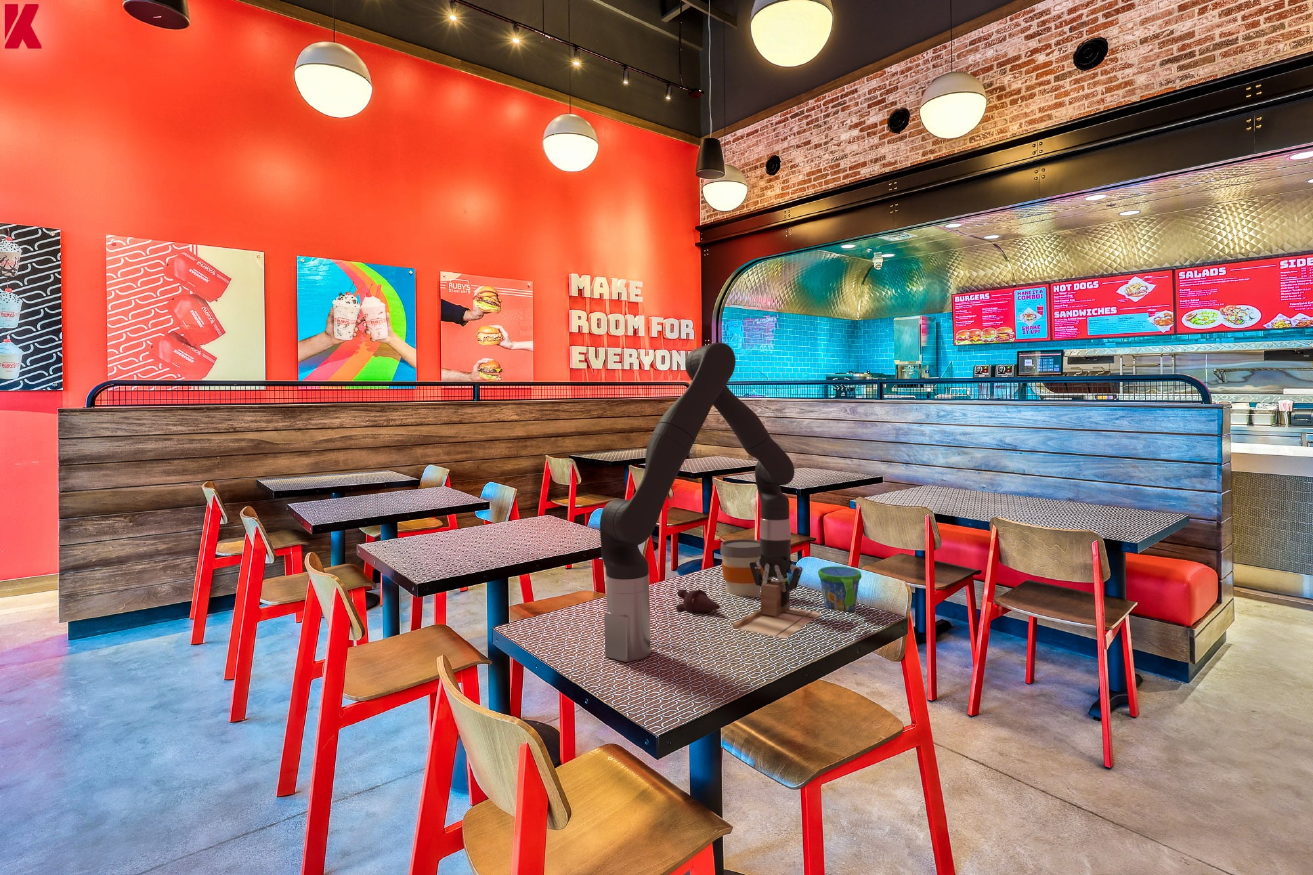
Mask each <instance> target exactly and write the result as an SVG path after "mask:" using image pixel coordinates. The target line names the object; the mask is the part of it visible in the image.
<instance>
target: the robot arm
mask: <svg viewBox="0 0 1313 875" xmlns="http://www.w3.org/2000/svg"><path fill="white" fill-rule="evenodd" d="M736 360H737V359H736V354H735V352H734V350H733V348H732V347H731V346H730V345H728V344H727V343H725V342H713V343H709V344H705V345H703V346H700V347H698V348H695V349H693V350H691V351H690V352H689V353H688V354H687V356H686V358H685V371H686V373H687V375H688V378H689V379H690V380H691V382H690V384H689V385H688V387H687V388H686V390H685V391H684V392H683V393H682V394H681V395H680V397H678V399H676V400H675V402H674V403H672V405H671V406H669V408H668V409H667V410H666V411H665V412H664V414H663V415H662V416H661V418H660V419H659V420H658V423H657V424H656V426H655V428H654V430H653V432H652V434H651V435H650V437H649V440H648V442H647V445H646V450H645V466H644V472H643V477H642V480H641V481H640V483H639V485H638V487H637V489H636V491H635V493H633V496H632V497H631V499H624V498H616V499H612V500H611V501H610V500H609V502H607V503H606V505H605V506H604V508H603V509H602V511H601V514H600V519H599V533H600V534H599V536H600V537H599V538H600V551H601V558H602V563H603V564H604V567H605V576H606V578H605V579H606V580H605V581H606V582H605V583H606V611H605V612H604V613H603V618H604V619H603V620H604V621H603V623H604V624H603V625H604V654H605V655H604V657H606V658H610V659H613V660H616V661H620V662H625V663H628V662H631V661H638V660H641V659H645V658H647V657H649V656H650V655H651V653H652V652H651V650H652V648H651V646H652V645H651V644H652V643H651V642H652V641H651V611H650V610H651V608H650V604H651V603H650V570H649V569H650V566H649V562H648V560H647V558H646V557H645V556H644V555H643V554H642V552H641V550H640V548H639V545H642V544H643V543H645V542H646V541H647V540H648V539H649V538H650V537H651V536H652V534H653V532H654V531H655V528H656V526H657V524H658V521H659V518H660V517H661V516H660V515H661V513H662V509H663V508H664V505H665V502H666V501H667V500H666V499H667V497H668V495H669V492H670V490H671V489H672V487H673V484H674V483H675V481H676V479H677V476H678V474H679V472H680V470H681V469H682V466H683V465H684V463H685V461H686V459H687V457H688V456H689V453H690V451H691V449H692V447H693V446H694V444H695V443H696V442H695V441H696V439H697V437H698V435H699V434H700V431H701V429H702V428H703V426H704V424H705V421H706V419H707V417H708V415H709V413H710V411H711V410H712V408H713V407H714V409H716V410H717V412H718V413H719V414H720V416H722V418H723V419H724V420H725V422H726V423H727V425H728V426H729V427H730V428H731V430H732V432H733V434H734V435H735V437H736V438H737V439H738V441H739V442H740V445H741V447H742V448H743V449H744V451H745V452H746V453H747V454H748V455H749V456H750V457H752V458H754V459H756V460H757V462H756V464H755V467H754V479H755V484H756V488H757V493H758V495H759V496H758V497H759V500H760V525H759V541H760V554H761V557H760V559H759V561H753V562H751V563H750V568H751V571H752V574H753V578H754V581H755V584H756V585H757V586H758V585H759V586H761V585H762V584H765V583H768V582H771V581H773V578H777V580H778V582H779V583H780V585H781V590H782V592H781V606H782V607H786V606H787V604H789V591H790V592H792V591H794V590H796V589H797V588H798V584H799V581H800V579H801V576H802V573H803V570H804V568H803V567H802V566H798V565H794V564H793V561H792V559H791V555H792V550H791V548H792V547H791V546H792V544H791V543H792V542H791V541H792V540H791V539H792V538H791V537H792V532H791V522H790V521H791V520H790V499H789V497H788V496H787V495H786V494H784V493H783V492H782V489H781V486H785V485H788V484H790V483H791V482H792V481H793V479H794V477H795V473H796V472H795V466H794V464H793V461H792V459H791V458H790V457H789V455H788V454H787V453H786V452H785V451H784V449H783V448H781V446H780V445H779V444H778V443H777V442H776V441H775V440H773V438H772V437H771V435H770V433H769V432H768V430H767V428H766V427H765V425H764V424H763V422H762V420H761V419H760V418H759V416H758V415H757V413H755V412H754V411H753V410H752V409H751V408H750V407H749V406H748V405H746V404H745V403H744V402H743V401H742V400H741V399H740V398H739V397H737V396H736V395H735V394H734V393H733V391H732V390H731V389H730V388H729V386H728V385H727V384H728V382H729V381H730V379H731V377H732V376H733V374H734V372H735V369H736V364H737V363H736V362H737V361H736ZM761 567H762V568H763V570H764V575H763V577H762V573H761V570H760V568H761ZM790 570H791V571H790ZM788 572H790V573H791V578H790V577H789V573H788ZM789 578H790V579H789ZM789 580H790V581H789ZM789 582H790V584H789Z"/></svg>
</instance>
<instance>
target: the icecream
mask: <svg viewBox="0 0 1313 875" xmlns="http://www.w3.org/2000/svg"><path fill="white" fill-rule="evenodd" d="M677 596H678V598H681V599H682V600H683V601H682V603H678V604H677V605H676V607H675V609H676V611H678V612H680V613H683V612H685V611H686V612H688V613H691V614H694V613H696V614H697V613H698V614H704V613H708V612H711V611H715V610H718V609H720V608H721V605H719V604H718V603H717V602H715V601H714V600H713V599H711V598H710V597H709V596H708V594H707V592H705V591H704V590H702V589H696V590H690V591H689V592H688V590H687V589H683V588H682V589H681V588H680V589H678V591H677Z"/></svg>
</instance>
